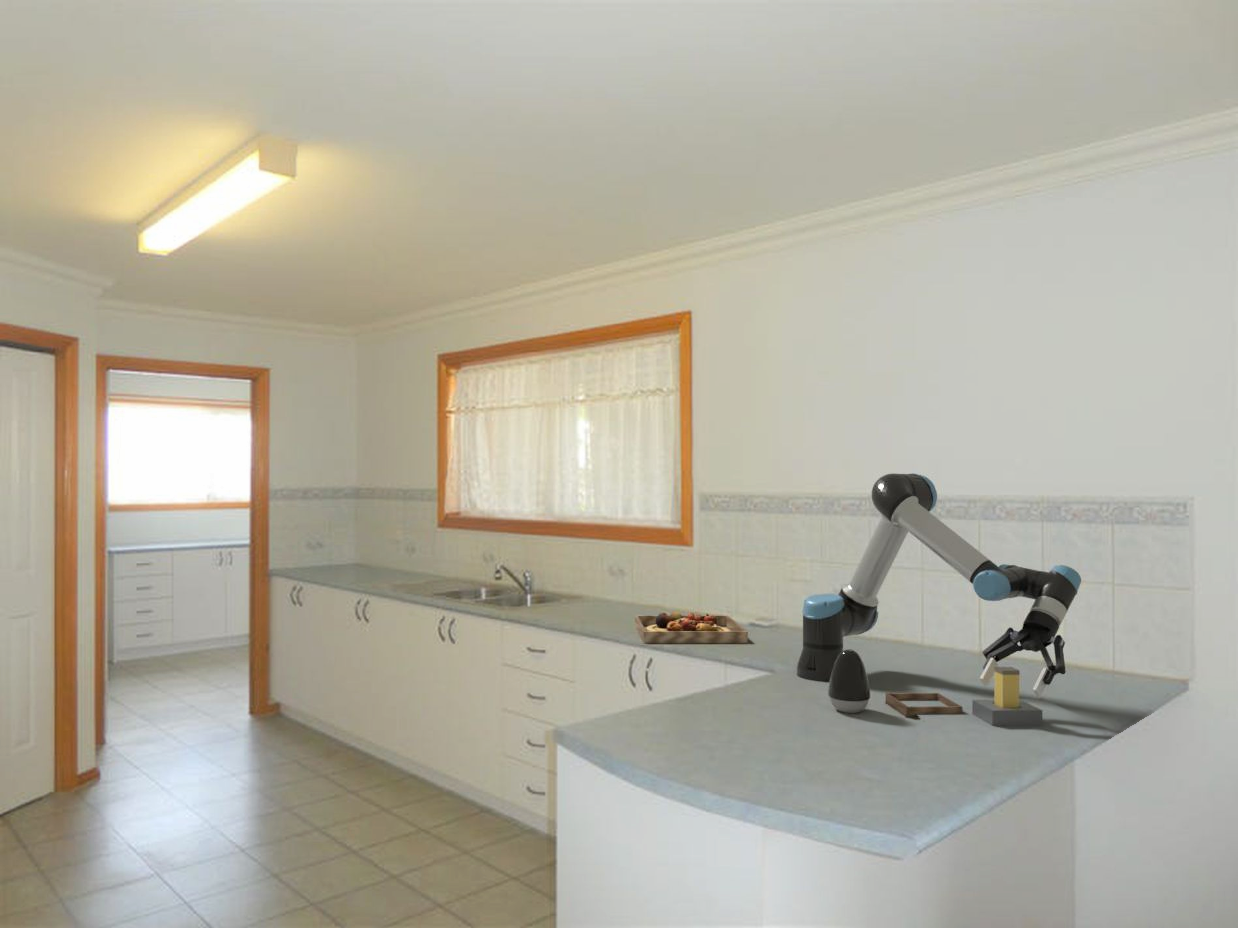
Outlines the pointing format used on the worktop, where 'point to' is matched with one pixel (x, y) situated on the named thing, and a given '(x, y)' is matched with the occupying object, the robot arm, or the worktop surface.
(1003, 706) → the plug
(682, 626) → the wooden plate with food
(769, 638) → the worktop surface
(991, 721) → the grey block with hole
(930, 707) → the tray
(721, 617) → the wooden fruit tray
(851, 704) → the black egg shaped container
